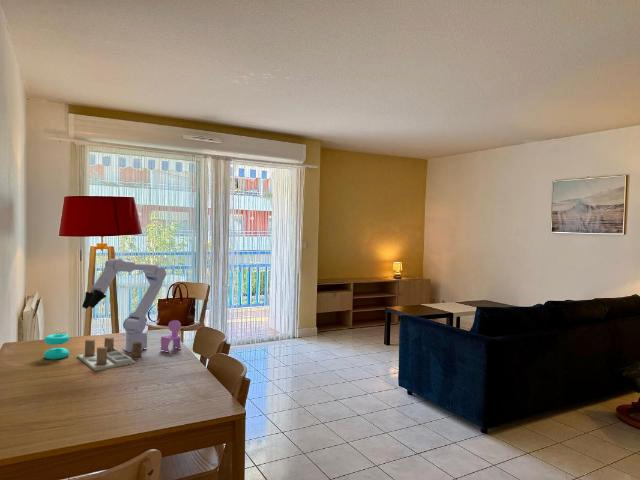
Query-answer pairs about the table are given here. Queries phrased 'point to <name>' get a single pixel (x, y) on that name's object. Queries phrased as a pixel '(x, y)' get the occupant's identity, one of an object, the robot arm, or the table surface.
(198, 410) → the table surface
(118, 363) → the pin board
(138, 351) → the walnut pin
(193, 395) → the table surface
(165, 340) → the toy chair
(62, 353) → the donuts
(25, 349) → the table surface
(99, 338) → the table surface
